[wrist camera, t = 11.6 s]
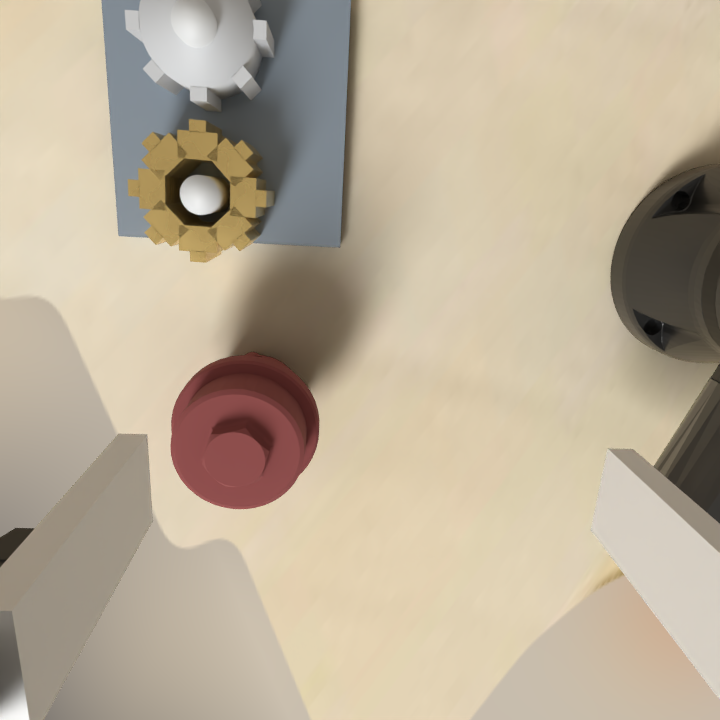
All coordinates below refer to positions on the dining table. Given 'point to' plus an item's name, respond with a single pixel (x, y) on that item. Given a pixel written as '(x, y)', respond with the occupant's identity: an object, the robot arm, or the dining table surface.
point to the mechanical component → (243, 431)
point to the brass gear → (171, 168)
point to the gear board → (235, 102)
